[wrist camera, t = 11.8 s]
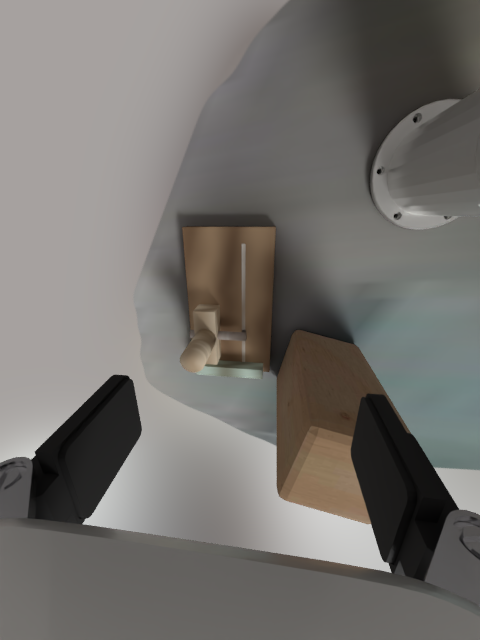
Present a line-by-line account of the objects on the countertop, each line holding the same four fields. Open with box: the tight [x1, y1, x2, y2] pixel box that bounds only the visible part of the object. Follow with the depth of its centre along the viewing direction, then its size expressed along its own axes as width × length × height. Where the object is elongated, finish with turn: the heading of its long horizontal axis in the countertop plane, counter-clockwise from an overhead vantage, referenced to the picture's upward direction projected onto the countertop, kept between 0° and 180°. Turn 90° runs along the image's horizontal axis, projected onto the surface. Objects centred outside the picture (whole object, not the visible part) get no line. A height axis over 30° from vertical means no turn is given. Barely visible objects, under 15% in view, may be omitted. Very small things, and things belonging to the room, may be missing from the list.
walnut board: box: [182, 226, 276, 379], centre depth 37 cm, size 12×21×4 cm, turn 1°
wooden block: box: [277, 330, 411, 524], centre depth 32 cm, size 10×10×20 cm
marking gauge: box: [180, 304, 247, 372], centre depth 35 cm, size 8×8×9 cm
